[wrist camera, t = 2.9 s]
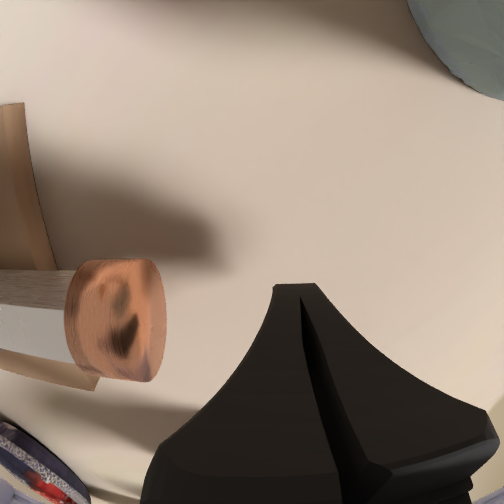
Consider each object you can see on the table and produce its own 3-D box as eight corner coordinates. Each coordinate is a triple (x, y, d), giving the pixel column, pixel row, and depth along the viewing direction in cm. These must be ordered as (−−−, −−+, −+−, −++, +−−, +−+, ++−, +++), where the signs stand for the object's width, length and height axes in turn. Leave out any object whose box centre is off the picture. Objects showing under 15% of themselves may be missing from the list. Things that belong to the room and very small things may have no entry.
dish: (65, 439, 23) (51, 476, 19) (108, 505, 37) (103, 526, 33) (-34, 386, 22) (-51, 414, 18) (36, 476, 36) (29, 495, 31)
